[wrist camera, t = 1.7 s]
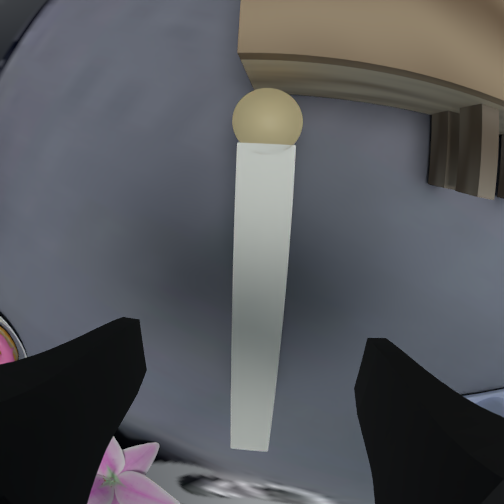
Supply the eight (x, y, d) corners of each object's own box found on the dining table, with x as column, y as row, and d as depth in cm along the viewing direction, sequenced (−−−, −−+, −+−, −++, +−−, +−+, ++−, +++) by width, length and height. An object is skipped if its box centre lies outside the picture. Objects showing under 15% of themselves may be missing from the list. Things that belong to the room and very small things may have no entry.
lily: (208, 472, 26) (192, 522, 17) (135, 516, 25) (105, 560, 15) (127, 386, 28) (80, 406, 19) (64, 439, 27) (14, 464, 17)
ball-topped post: (275, 384, 21) (271, 451, 15) (240, 382, 21) (227, 447, 15) (296, 112, 16) (304, 90, 10) (250, 110, 16) (233, 87, 10)
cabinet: (505, 198, 15) (578, 222, 9) (252, 166, 17) (231, 172, 10) (500, 26, 12) (561, -1, 5) (261, -29, 13) (249, -101, 6)
